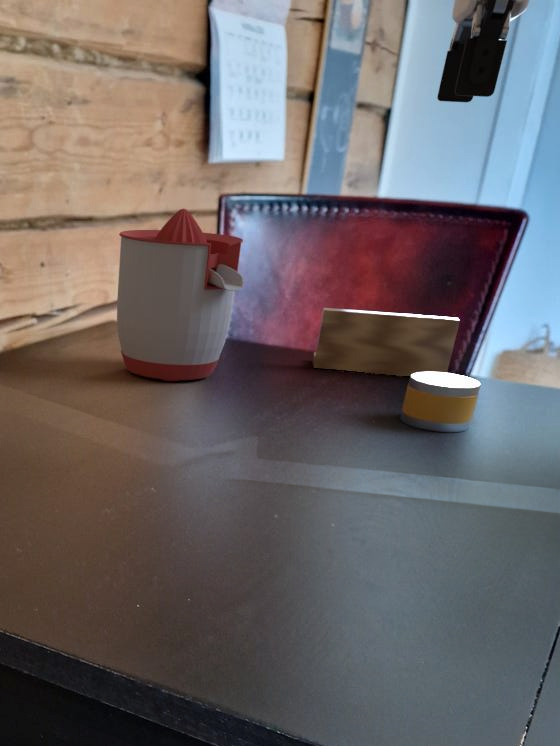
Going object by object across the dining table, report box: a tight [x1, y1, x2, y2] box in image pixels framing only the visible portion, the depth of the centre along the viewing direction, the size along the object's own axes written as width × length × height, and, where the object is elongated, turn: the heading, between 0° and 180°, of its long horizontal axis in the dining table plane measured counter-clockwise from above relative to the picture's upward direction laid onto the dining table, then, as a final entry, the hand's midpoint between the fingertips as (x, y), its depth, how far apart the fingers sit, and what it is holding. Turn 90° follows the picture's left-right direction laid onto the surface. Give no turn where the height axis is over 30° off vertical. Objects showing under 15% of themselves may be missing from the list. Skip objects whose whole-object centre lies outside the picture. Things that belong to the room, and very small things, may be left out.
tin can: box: [400, 372, 482, 433], centre depth 98 cm, size 8×8×5 cm
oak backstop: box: [312, 307, 461, 377], centre depth 121 cm, size 18×6×8 cm, turn 79°
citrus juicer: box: [116, 208, 244, 382], centre depth 111 cm, size 16×17×20 cm
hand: (463, 98), depth 78 cm, fingers open, 9 cm apart
